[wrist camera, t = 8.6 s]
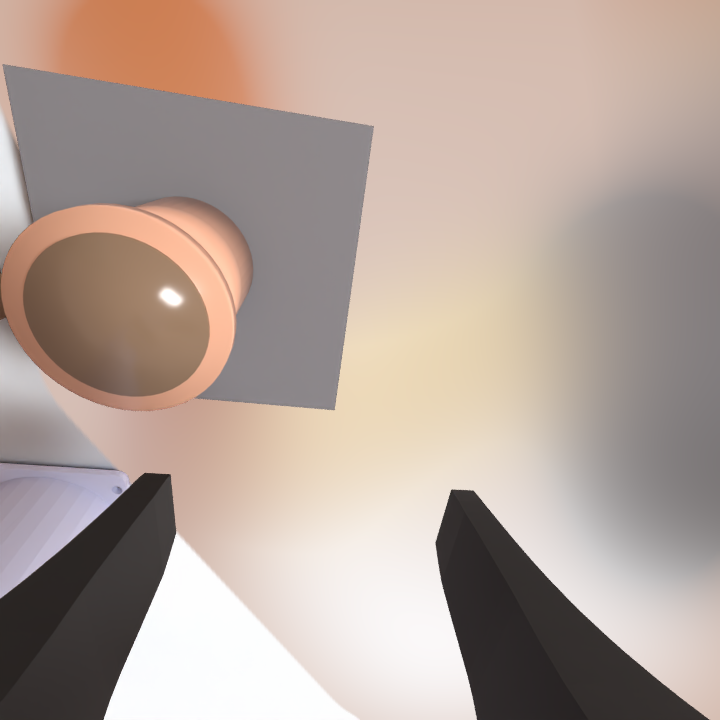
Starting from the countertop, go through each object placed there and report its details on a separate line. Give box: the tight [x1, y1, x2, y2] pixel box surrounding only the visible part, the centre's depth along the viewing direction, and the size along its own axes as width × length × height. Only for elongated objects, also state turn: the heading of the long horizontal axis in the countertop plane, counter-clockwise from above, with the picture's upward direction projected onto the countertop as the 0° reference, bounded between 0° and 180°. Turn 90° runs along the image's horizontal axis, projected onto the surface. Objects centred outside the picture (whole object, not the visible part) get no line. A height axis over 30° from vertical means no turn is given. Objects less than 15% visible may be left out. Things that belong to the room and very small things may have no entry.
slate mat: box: [3, 64, 374, 410], centre depth 17 cm, size 12×12×1 cm
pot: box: [1, 196, 253, 411], centre depth 14 cm, size 6×6×6 cm
